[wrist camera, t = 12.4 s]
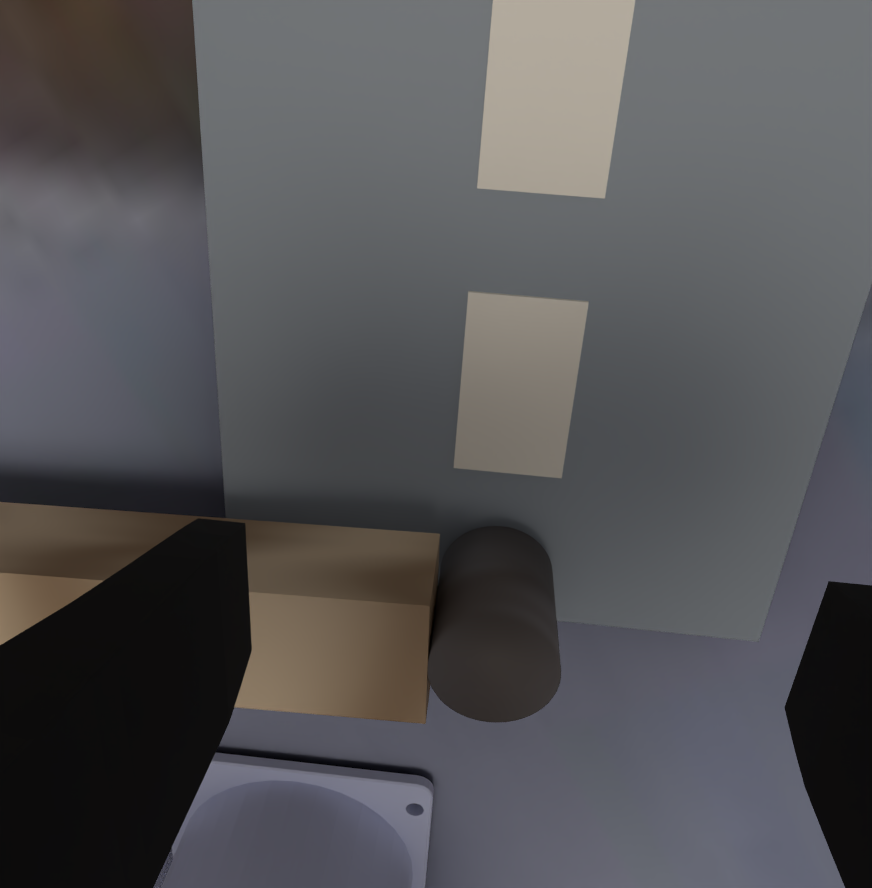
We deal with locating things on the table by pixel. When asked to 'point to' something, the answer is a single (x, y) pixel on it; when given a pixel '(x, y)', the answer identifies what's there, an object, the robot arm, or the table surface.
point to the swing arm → (331, 609)
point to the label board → (541, 277)
